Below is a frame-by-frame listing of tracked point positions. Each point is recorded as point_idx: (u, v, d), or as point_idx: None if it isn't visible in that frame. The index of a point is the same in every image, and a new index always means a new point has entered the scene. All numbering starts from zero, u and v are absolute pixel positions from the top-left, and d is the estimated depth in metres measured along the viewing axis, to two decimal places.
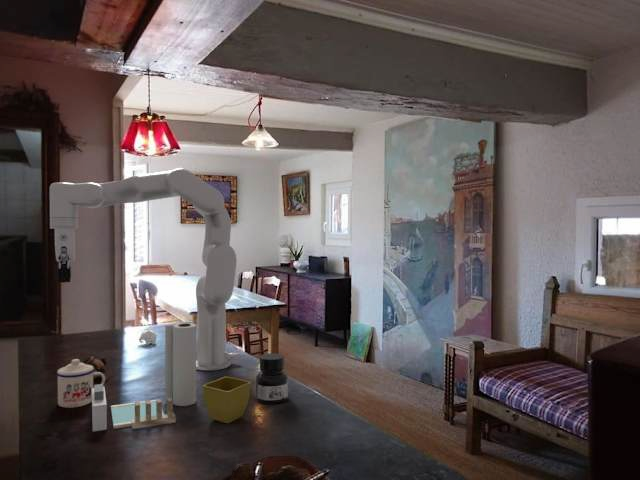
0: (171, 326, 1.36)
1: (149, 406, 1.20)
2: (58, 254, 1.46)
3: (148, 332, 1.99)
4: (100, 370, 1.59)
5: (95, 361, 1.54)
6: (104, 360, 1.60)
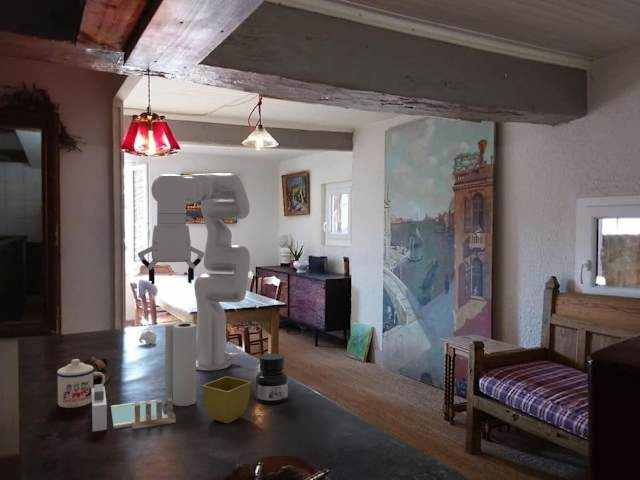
0: (171, 326, 1.36)
1: (149, 406, 1.20)
2: (190, 253, 1.37)
3: (148, 332, 1.99)
4: (101, 370, 1.58)
5: (96, 361, 1.54)
6: (105, 360, 1.60)
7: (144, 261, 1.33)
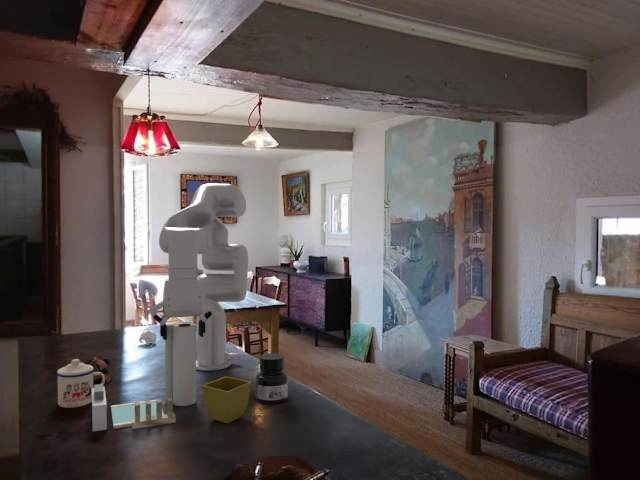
0: (171, 326, 1.36)
1: (149, 406, 1.20)
2: (202, 306, 1.36)
3: (148, 332, 1.99)
4: (103, 371, 1.58)
5: (98, 362, 1.53)
6: (107, 360, 1.60)
7: (156, 316, 1.32)
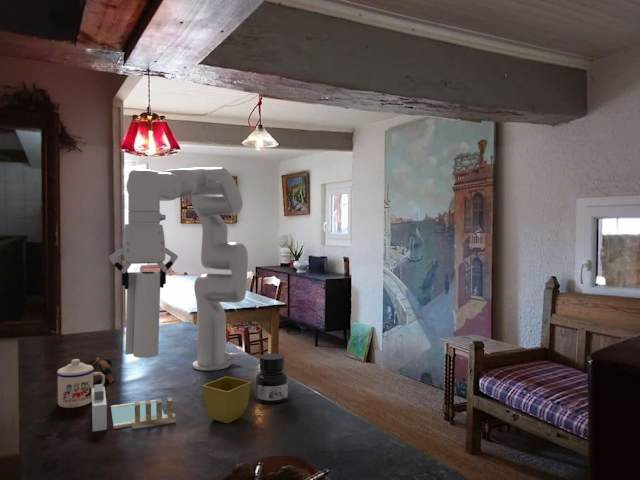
0: (134, 273, 1.28)
1: (149, 406, 1.20)
2: None
3: None
4: (105, 371, 1.58)
5: (101, 362, 1.53)
6: (109, 361, 1.59)
7: (117, 264, 1.24)
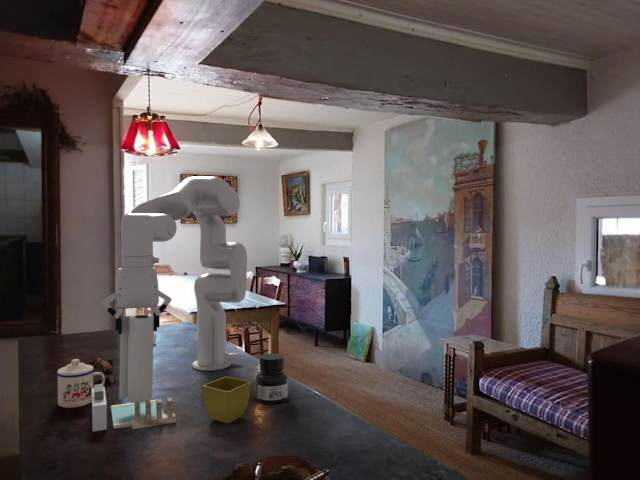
0: (127, 317, 1.27)
1: (149, 406, 1.20)
2: (158, 297, 1.28)
3: None
4: (107, 371, 1.57)
5: (102, 362, 1.53)
6: (110, 361, 1.59)
7: (110, 309, 1.23)
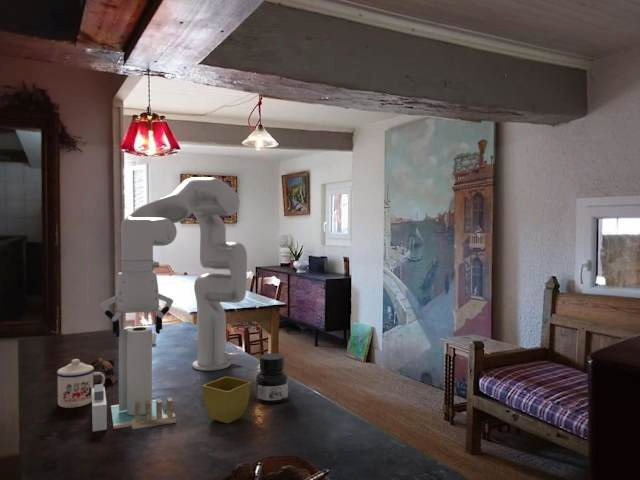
0: (125, 330, 1.28)
1: (149, 406, 1.20)
2: (158, 301, 1.28)
3: None
4: (108, 372, 1.57)
5: (104, 362, 1.52)
6: (112, 361, 1.59)
7: (108, 312, 1.23)
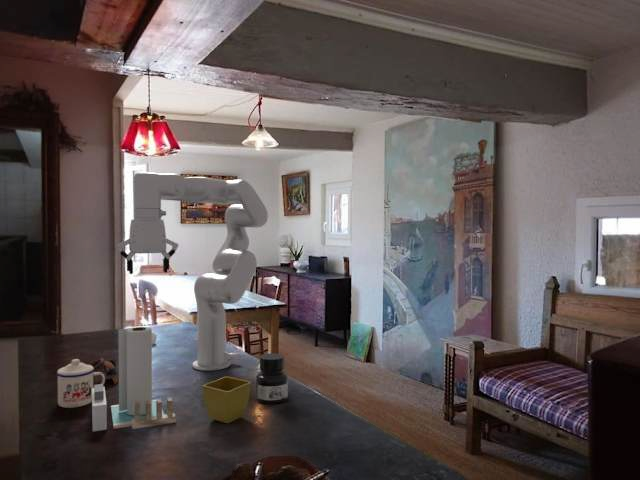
0: (125, 330, 1.28)
1: (149, 406, 1.20)
2: None
3: None
4: (109, 372, 1.57)
5: (106, 363, 1.52)
6: (113, 362, 1.59)
7: (123, 252, 1.44)
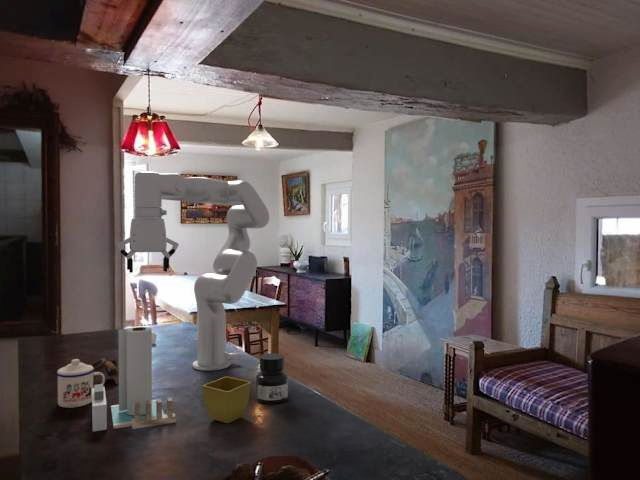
0: (125, 330, 1.28)
1: (149, 406, 1.20)
2: (166, 244, 1.49)
3: None
4: (111, 372, 1.57)
5: (107, 363, 1.52)
6: (114, 362, 1.58)
7: (123, 251, 1.45)
